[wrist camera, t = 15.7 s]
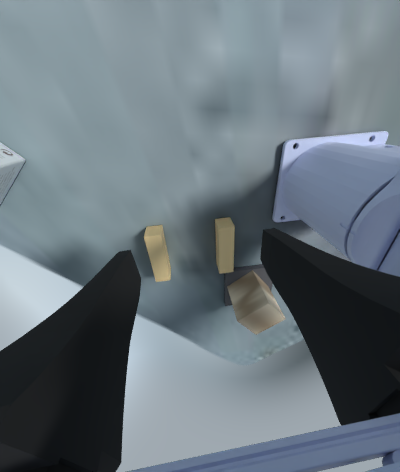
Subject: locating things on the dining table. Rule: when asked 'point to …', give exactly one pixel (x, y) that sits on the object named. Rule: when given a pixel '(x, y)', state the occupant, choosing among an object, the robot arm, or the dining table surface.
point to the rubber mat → (239, 273)
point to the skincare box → (8, 169)
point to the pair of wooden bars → (160, 255)
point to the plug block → (254, 303)
